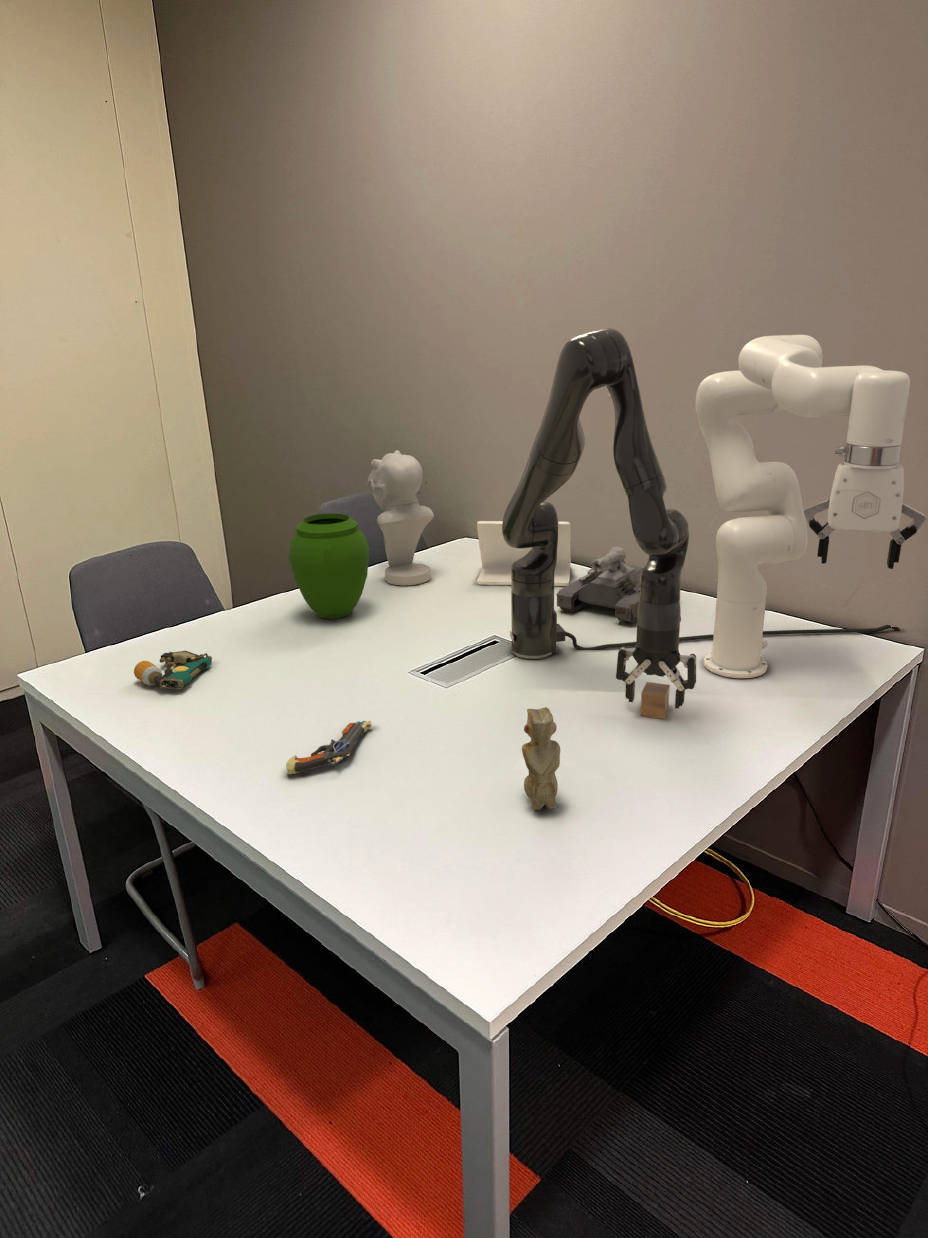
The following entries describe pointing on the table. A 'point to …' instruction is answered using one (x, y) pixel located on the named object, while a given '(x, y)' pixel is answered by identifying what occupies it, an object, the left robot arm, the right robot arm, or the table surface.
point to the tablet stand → (516, 555)
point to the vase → (329, 563)
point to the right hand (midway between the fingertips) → (856, 563)
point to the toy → (606, 587)
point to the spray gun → (172, 669)
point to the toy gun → (330, 749)
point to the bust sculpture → (400, 515)
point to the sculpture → (541, 759)
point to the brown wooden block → (655, 700)
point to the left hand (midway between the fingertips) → (654, 703)
